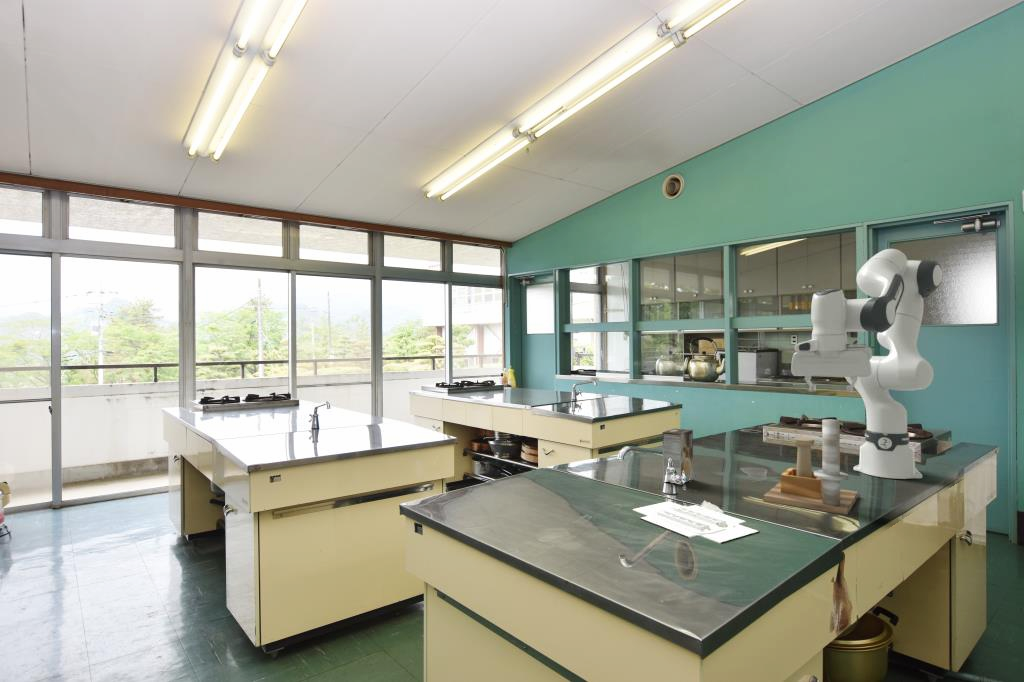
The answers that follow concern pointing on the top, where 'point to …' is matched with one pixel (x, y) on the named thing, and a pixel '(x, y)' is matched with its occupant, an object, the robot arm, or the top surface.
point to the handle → (804, 456)
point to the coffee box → (678, 451)
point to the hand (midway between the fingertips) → (830, 391)
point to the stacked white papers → (696, 520)
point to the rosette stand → (817, 480)
